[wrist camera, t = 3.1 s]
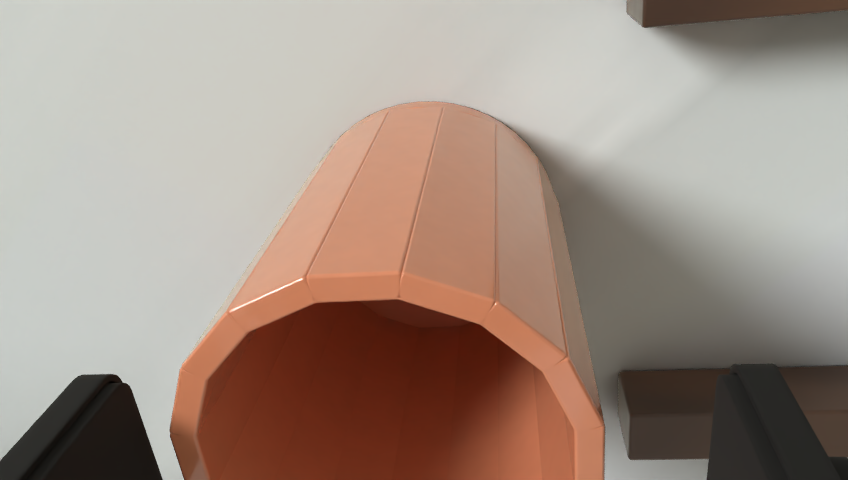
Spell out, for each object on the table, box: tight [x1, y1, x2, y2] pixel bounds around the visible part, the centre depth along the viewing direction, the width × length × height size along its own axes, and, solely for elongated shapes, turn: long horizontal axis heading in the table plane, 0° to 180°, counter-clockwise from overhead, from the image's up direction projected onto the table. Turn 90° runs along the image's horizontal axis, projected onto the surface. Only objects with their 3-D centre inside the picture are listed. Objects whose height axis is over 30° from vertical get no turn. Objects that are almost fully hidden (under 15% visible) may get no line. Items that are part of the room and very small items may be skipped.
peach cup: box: [170, 102, 605, 480], centre depth 15 cm, size 7×7×9 cm
